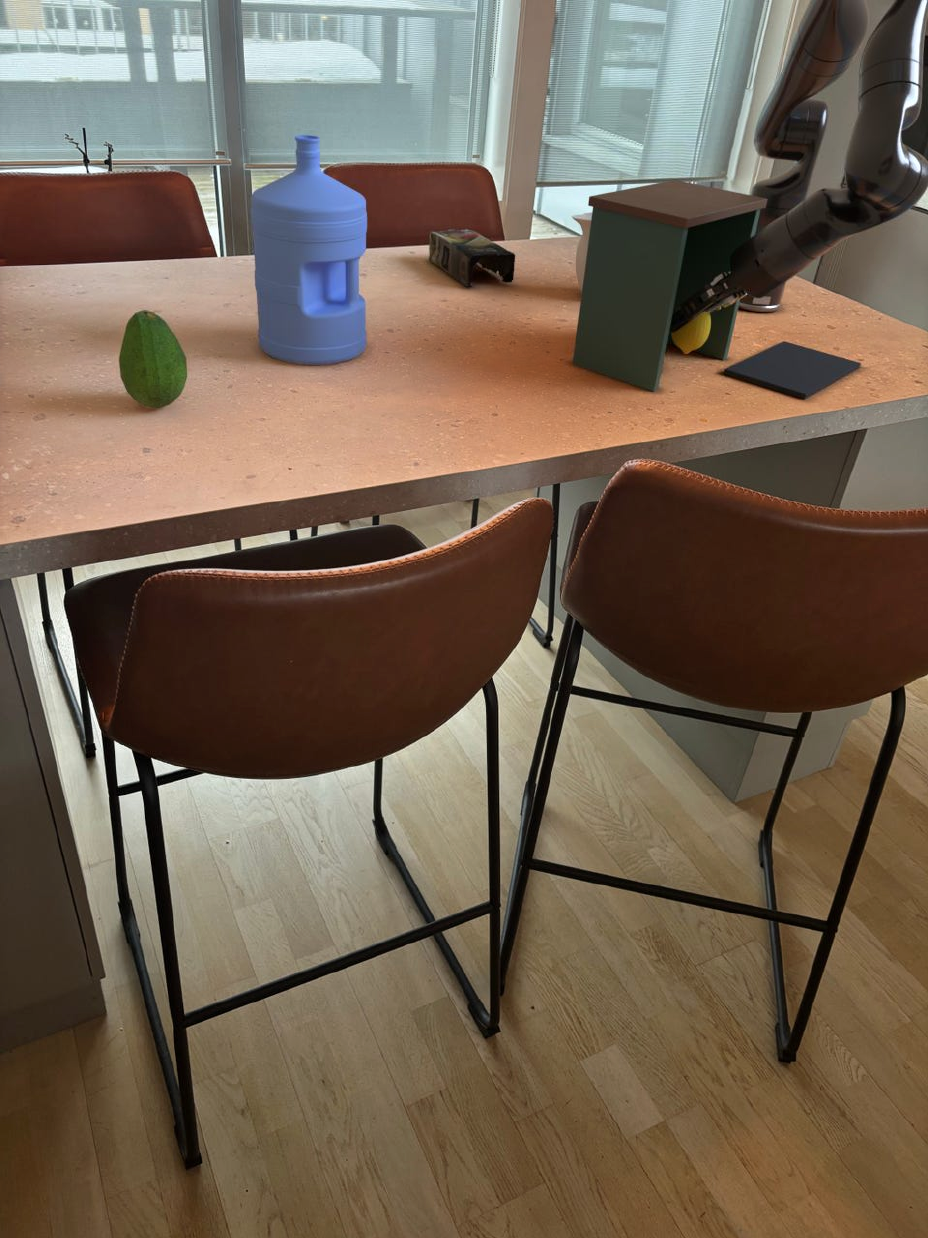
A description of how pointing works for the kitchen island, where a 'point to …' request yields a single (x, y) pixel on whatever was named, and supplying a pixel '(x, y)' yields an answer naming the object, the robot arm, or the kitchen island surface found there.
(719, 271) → the cupboard
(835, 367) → the mat
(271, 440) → the kitchen island surface
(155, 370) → the avocado
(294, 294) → the water jug
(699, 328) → the lemon
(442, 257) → the dark printed box
